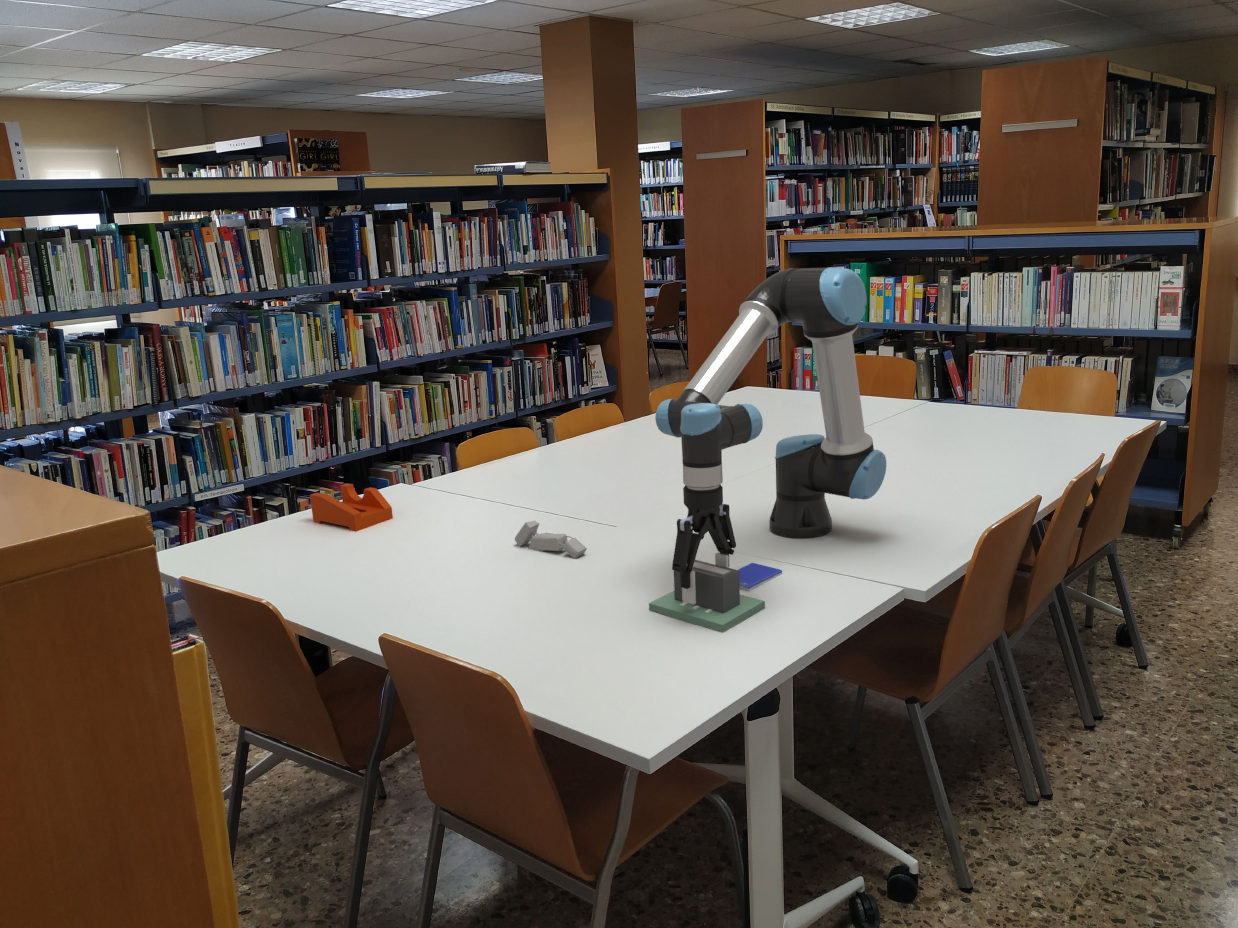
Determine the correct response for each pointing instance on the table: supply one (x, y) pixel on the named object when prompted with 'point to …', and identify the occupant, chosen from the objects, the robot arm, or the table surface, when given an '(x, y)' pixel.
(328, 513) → the orange cradle stand
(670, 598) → the header board
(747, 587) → the hard drive
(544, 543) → the grey jointed block chain
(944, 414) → the table surface
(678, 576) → the socket block
